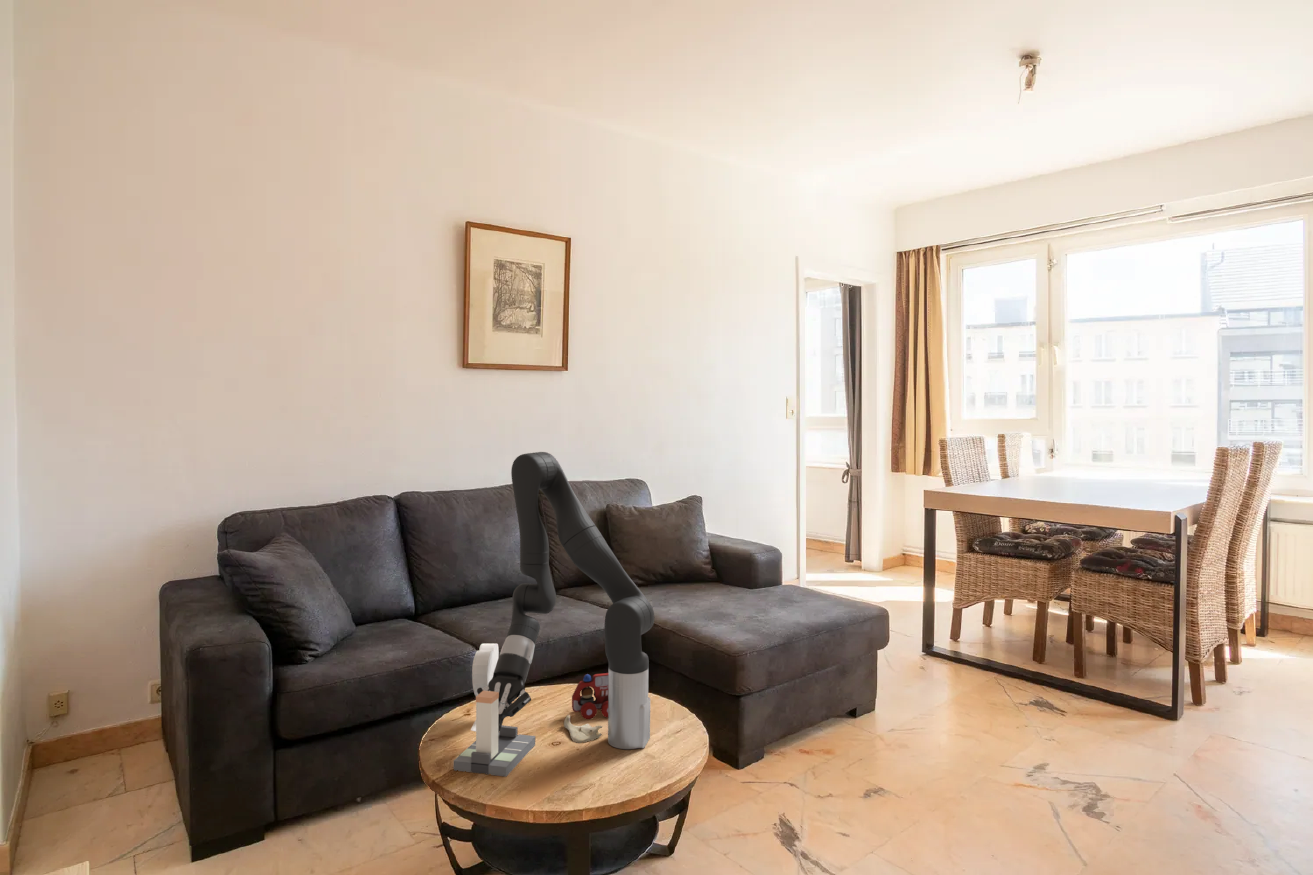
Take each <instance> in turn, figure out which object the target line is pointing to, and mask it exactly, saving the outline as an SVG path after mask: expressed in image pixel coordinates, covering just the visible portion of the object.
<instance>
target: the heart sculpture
mask: <svg viewBox="0 0 1313 875" xmlns="http://www.w3.org/2000/svg"><path fill="white" fill-rule="evenodd" d="M499 655H500V652H499V644H498V643H481V644H480V646H479V650H476V652H475V654H474V657H473V660H472V668H471V669H472V672H471V674H472V676H471V679H472V680H471V681H472V690H473V693H474V696H475V697H476V696H477V695H478V692H477V689H478V688H482V689H483V688H484V687H486V686H488V683H489V682H490V680H491V679H492V678H493V673H494V670H495V667H496V664H497V661H498V658H499ZM470 731H473V732H476V719H475V720H474V722H473V724H472V726H471V728H470Z"/></svg>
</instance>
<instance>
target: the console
mask: <svg viewBox="0 0 1313 875" xmlns="http://www.w3.org/2000/svg"><path fill="white" fill-rule="evenodd" d="M518 728H519V727H518V726H514V725H513V726H512V725H505V724H504V725H503V724H502V726H501V730H500V731H499V732H498V753H497V754H496V755H495V756H494V757H493V758H492V759H491V754H490V753H482V752H476V740H475V741H473V743H471V744H470V745H469V746H468V747H466V749H465V750H464V751H463V752H461V753H460V754H459V755H458V756H457V757H456V758H455V759H453V766H452V767H453V769H454V770H453V771H457V770H458V772H465V771H466V773H467V772H468V773H475V774H481V773H485V774H484V775H489V774H491V775H490V776H499V777H507V776H508V775H510V773H512V771H513V770H514V769H515V768H516V767H517V765H518V764H519V763H520V762H521V761H522V760H524V758H525V757H526V756H527V755H528V753H530V752H531V751H532V749H533V748H534V747H535V746H536V735H528V734H519V733H518Z"/></svg>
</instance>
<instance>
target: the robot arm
mask: <svg viewBox="0 0 1313 875" xmlns="http://www.w3.org/2000/svg"><path fill="white" fill-rule="evenodd" d="M510 474H511V482H512V483H511V485H512V490H513V496H514V502H515V510H516V515H517V522H518V530H519V531H518V532H519V569H520V573H521V574H523V575H525V576H527V577H530V578H532V579H534V580H535V583H528V582H527V583H520V584H519V585H517V586H516V587H515V589H514V590H513V594H512V610H511V611H512V612H511V619H510V620H511V622H510V626H509V629H508V630H507V631H508V632H507V635H506V637H505V640H504V642H503V644H502V647H501V649H500V652H499V656H498V661H497V664H496V667H495V670H494V673H493V678H492V679H491V680H490V682H489V683H488V686H486V687H484V688H483V689H482V688H478V689H477V692H478V694H480V693H481V692H482V691H493V692H499V703H498V732H499V731H500V730H501V726H502V725H503V722H504V719H506V718H508V717H510V718H513V717H514V716H515V715H516V714H517V713H519V711H521V710H522V709H523V708H524V707H525V706H526V705H527V704H529V703H530V702H531V701H532V698H531V695H530V694H529V693H528V692H527V691H526V690H525V689H526V685H525V683H526V680H527V677H528V674H529V671H530V667H531V664H532V662H533V658H534V652H535V646H536V643H537V640H538V638H539V637H538V636H539V633H540V631H541V630H540V629H541V623H540V622H539V621H538V619H535V617H532V616H530V615H527V614H541V615H547V614H550V613H551V612H552V611H553V610H554V608H555V606H556V603H557V592H556V589H555V586H554V583H553V582H554V581H553V579H552V575H551V570H550V545H549V544H550V543H549V537H548V534H547V530H546V527H545V525H544V524H543V520H542V518H541V515H540V510H539V504H538V503H539V493H540V492H539V491H541V492H542V493H543V495H544V496H545V497H546V499H547V501H548V503H549V504H550V506H551V507H552V510H553V512H554V516H555V523H556V531H557V537H558V539H559V541H560V544H561V546H562V548H563V549H564V550H565V553H566V554H567V555H568V557H569V559H570V560H571V562H572V563H573V564H574V565H575V566H576V568H578V569H579V570H580V571H581V572H582V573H583V574H585V575H586V576H587V577H589V578H590V579H591V580H593V581H594V582H595V583H597V585H599V586H600V588H601V589H603V591H604V592H605V593H606V594H607V596H608V598H609V599H610V601H611V603H612V604H611V605H610V606H609V607H608V609H607V610H606V612H605V615H604V616H605V617H604V649H605V656H606V658H607V662H608V673H609V681H608V718H607V742H608V745H610V746H612V747H614V748H616V749H621V750H634V749H635V750H636V749H644V748H646V745H647V744H648V742H649V740H650V739H651V698H650V697H649V665H650V664H649V662H650V661H649V660H650V659H649V656H648V654H647V653H645V652H644V651H643V650H642V635H644V634H646V633H647V632H648V631H650V630H651V629H652V627H653V626H654V622H655V612H654V609H653V607H652V603H651V602H650V601H649V599H647V597H646V596H645V594H644V593H643V592H642V590H641V589H640V588H639V587H638V585H636V584H635V582H634V580H632V579H631V577H630V575H629V574H628V573H627V572H626V571H625V569H624V567H623V566H622V564H621V563H620V561H619V560H618V558H617V556H616V555H615V554H614V552H613V550H612V549H611V547H610V546H609V545H608V543H607V541H606V540H605V538H604V536H603V535H602V532H600V530H599V528H598V527H597V525H596V524H595V522H594V521H593V520H592V519H591V517H590V515H589V514H588V512H587V511H586V509H585V507H584V506H583V505H582V502H581V501H580V500H579V498H578V497H577V495H576V494H575V492H574V490H573V487H572V486H571V484H570V482H569V480H568V478H567V476H566V474H565V472H564V470H563V468H562V467H561V465H560V463H559V461H558V460H557V458H556V457H555V456H554V455H552V453H548V452H546V451H537V452H527V453H522V454H520V455H518V456H516V457H515V459H514V460H513V462H512V465H511V473H510ZM536 583H537V584H536ZM526 613H527V614H526Z"/></svg>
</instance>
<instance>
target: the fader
mask: <svg viewBox="0 0 1313 875" xmlns="http://www.w3.org/2000/svg"><path fill="white" fill-rule="evenodd" d="M475 702H476V703H475V710H476V711H475V720H476V731H475V741H476V752H482V753H490V754H491V759H492V758H493V757H494V756H495V755H496V754H497V753H498V703H499V692H493V691H482V692H481V693H480V694H478V695H477V696H475Z"/></svg>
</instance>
